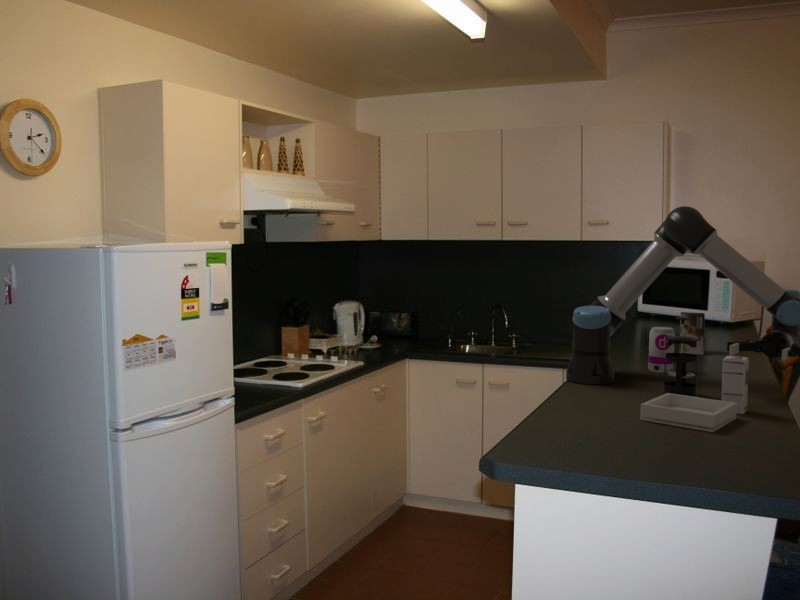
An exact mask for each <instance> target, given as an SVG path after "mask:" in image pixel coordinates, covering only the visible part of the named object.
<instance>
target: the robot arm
mask: <svg viewBox="0 0 800 600" xmlns="http://www.w3.org/2000/svg"><path fill="white" fill-rule="evenodd" d="M717 231H718V230H717V229H716V228H715V227H713V226H712V225H711V224H710V223H709V222H708V221H707V219H705V217H704V216H703V214H702V213H701V212H700V211H699V210H698V209H696V208H694V207H692V206H687V205H686V206H678V207H676V208H674V209H672V210H671V211H670V212H669V213H668V214H667V216H666V217H665V220H664V221H663V222H662V223H661V224H660V225H659V227H658V228H657V229H656V230H655V231H654V233H653V238H654V239H653V240H652V242H651V243H650V244H649V245H648V246H647V247H646V249H645V250H644V251H643V252H642V253H641V254H640V255H639V257H638V258H637V259H636V260H635V261H634V262H633V264H632V265H631V266H630V267H629V268H628V269H627V270H626V271H625V273H623V275H622V276H621V277H620V278H619V279H618V280H617V281H616V283H615V284H614V285H613V286H612V287H611V289H610V290H609V291H607V293H606V294H605V295H599V296H597V297H596V298H595V300H594V301H592V303H591V304H590V305H583V306H579V307H576V308H575V309H574V311H573V316H572V319H571V320H572V346H571V347H572V350H571V357H570V361H569V364H568V366H567V368H566V371H565V379H566V380H567V381H568V380H569V382H573V383H577V384H582V385H583V384H584V385H607V384H613V383H614V382H615V377H616V376H615V372H614V368H613V364H612V362H611V357H610V353H611V351H610V350H611V337H612V336H613V334H614V333H615V332H616V331H617V329H619V327H620V326H621V325H622V324H623V323H624V322H625V320H627V318H626V315H627V314H626V312H627V311H628V310H629V309H630V308H631V307H633V305H634V304H635V302H637V300H638V299H640V297H641V296H642V295H643V293H644V292H645V291H646V290H647V289H648V288H649V287H650V285H652V284H653V282H654V281H655V280H657V278H658V277H659V276H660V275H661V273H662V272H663V271H664V270H666V268H667V267H668V266H669V264H670V263H672V261H673V260H674V259H675V258H676V257H682V256H684V255H685V254H686V253H687V252H688V251H689V252H690V253H692V255H699V256H700V257H702V258H703V260H704V259H705V260H706V261H707V262H708V263H709V264H710V265H712V267H714V268H715V269H716V270H717V271H719V272H720V273H721V274H723V275H724V276H725V277H726V278H727V279H729V280H730V281H731V282H732V283H733V284H735V285H736V286H737V287H738V288H740V289H741V290H742V291H743V292H744V293H745V294H747V295H748V296H749V297H750V298H751V299H752V300H754V301H755V302H757V304H759V305H760V306H761V307H762V308H764V309H765V310H766V311H767V312H768V313H769V314H770V315H771V329H770V330H771V331H770V332H769V333H766V334H764V335H763V336H762V338H761V339H759V340H758V339H757V340H753V341H752V340H751V339H747V340H746V339H745V340H739V341H737V340H736V341H727V342H726V351H728V353H729V354H728V356H735V355H737V354H739V352H742V353H743V352H753V353H757V354H760V353H761V354H763V355H765V357H767V358H768V357H769V358H770V359H771V358H772V359H778V358H781V361H786V360H788V359H791V358H796V357H797V358H800V291H799V290H796V289H784V288H783V287H781V286H780V285H779V284H778V283H776V281H774V280H773V279H771V278H770V277H769V276H768V275H767V274H765V273H764V272H763V271H761V269H759V268H758V267H757V266H756V265H754V264H753V263H752V262H751V261H749V260H748V259H747V258H746V257H744V256H743V255H742V254H741V253H740V252H739V251H737V250H736V249H735V248H734V247H732V246H731V245H730V244H728V243H727V242H726V241H725V240H724V239H722V238H721V237H720V236H719V235H718V232H717Z"/></svg>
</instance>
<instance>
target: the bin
mask: <svg viewBox="0 0 800 600" xmlns="http://www.w3.org/2000/svg"><path fill="white" fill-rule="evenodd" d="M639 413H640V415H639V421H646V422H651V423H658V424H662V425H663V424H664V425H669V426H675V427H682V428H687V429H692V430H698V431H704V432H710V433H715V432H716V431H718V430H719V429H722V428H723V427H725V426H726V425H728V424H729V423H731V422H732V421H735V420H736V419H737V403H734V402H727V401H722V400H719V399H711V398H705V397H700V396H697V397H692V396H685V395H678V394H671V393H666V394H664V395H663V394H662V395H659V396H657V397H654V398H652V399H649V400H648V401H647V400H646V401H644V402H642V403H640V411H639Z"/></svg>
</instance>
